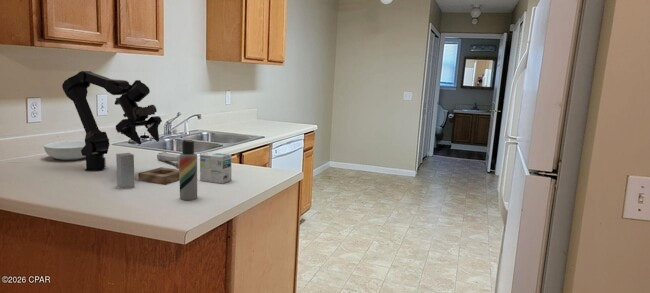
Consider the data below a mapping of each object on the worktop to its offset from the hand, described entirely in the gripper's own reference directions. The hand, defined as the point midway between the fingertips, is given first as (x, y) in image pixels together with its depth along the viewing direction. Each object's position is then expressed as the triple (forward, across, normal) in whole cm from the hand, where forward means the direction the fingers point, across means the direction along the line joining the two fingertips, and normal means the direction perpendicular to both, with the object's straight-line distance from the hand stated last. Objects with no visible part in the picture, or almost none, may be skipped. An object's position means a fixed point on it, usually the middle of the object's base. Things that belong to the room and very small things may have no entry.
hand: (149, 142), depth 171 cm
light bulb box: (+25, +11, -10) cm, 29 cm away
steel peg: (+13, -14, +7) cm, 20 cm away
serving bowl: (-22, +10, +55) cm, 60 cm away
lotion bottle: (+30, -14, -16) cm, 37 cm away
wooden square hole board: (+15, +1, +4) cm, 15 cm away
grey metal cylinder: (+5, +26, +18) cm, 32 cm away
